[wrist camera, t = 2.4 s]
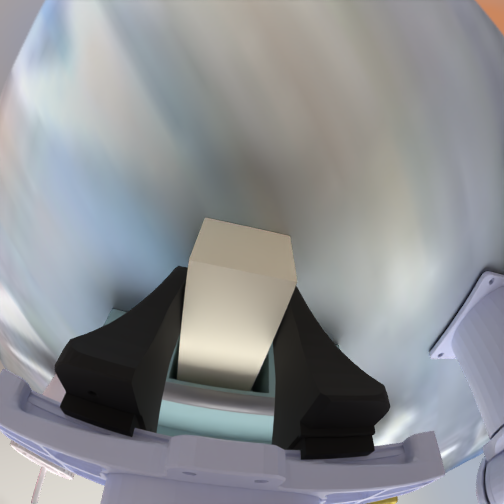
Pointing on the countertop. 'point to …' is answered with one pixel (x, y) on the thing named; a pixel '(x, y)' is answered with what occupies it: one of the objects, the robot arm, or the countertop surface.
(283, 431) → the robot arm
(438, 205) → the countertop surface
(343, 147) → the countertop surface
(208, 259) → the tall cream pillar
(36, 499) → the smoothie
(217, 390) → the dispenser
